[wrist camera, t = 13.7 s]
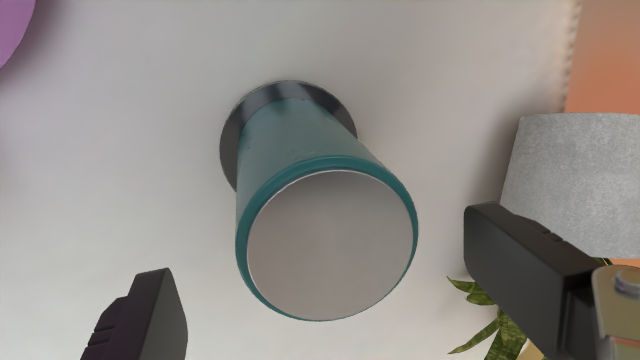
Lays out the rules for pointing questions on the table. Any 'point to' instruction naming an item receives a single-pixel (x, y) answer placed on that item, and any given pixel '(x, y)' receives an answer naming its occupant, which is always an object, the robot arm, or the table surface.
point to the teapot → (13, 25)
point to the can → (317, 215)
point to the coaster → (262, 98)
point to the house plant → (569, 197)
